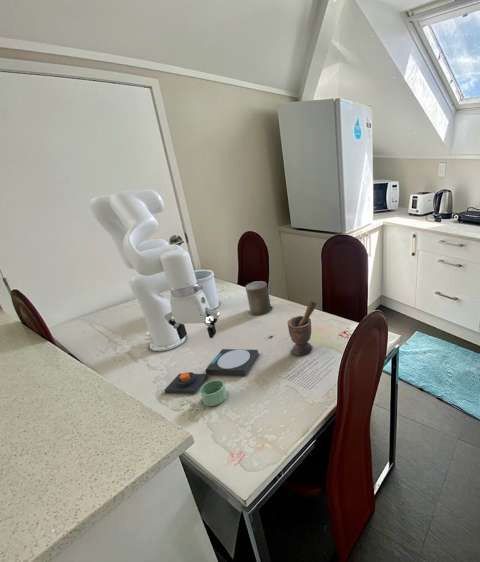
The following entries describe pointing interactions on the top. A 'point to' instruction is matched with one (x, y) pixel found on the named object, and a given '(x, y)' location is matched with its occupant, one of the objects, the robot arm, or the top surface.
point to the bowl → (213, 392)
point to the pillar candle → (258, 297)
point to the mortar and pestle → (301, 330)
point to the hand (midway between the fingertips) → (198, 336)
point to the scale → (232, 362)
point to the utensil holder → (208, 286)
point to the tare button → (184, 377)
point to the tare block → (186, 384)
